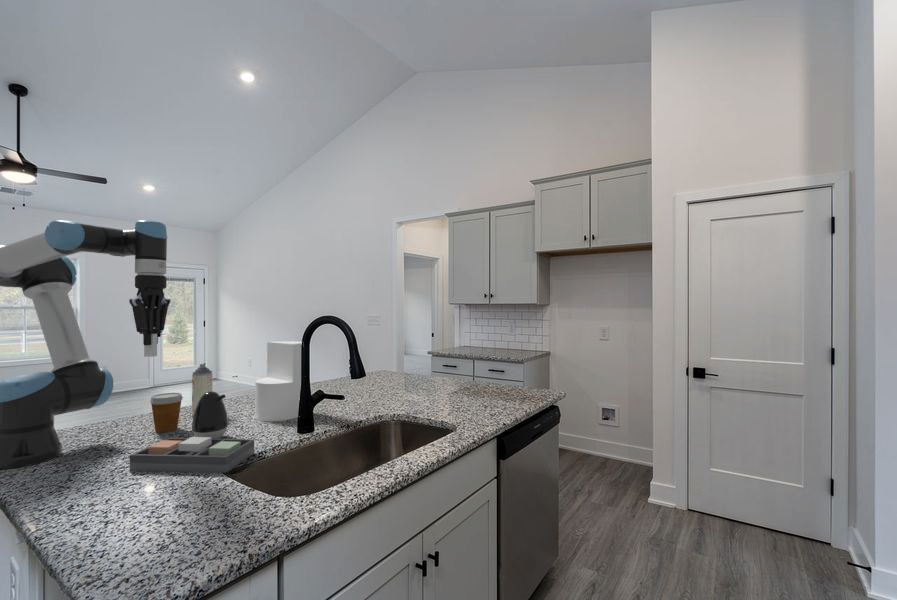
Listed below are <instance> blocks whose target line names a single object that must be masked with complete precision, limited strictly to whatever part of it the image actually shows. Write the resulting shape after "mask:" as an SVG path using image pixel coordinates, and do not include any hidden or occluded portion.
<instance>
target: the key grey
mask: <svg viewBox="0 0 897 600" xmlns="http://www.w3.org/2000/svg"><path fill="white" fill-rule="evenodd" d="M209 445H211V437H195V436H191V437H190V438H189V439H187V440H185V441H183V442H181V443H179V444H178V451H200V450H202V449H204V448H206V447H208V446H209Z"/></svg>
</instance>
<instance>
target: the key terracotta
mask: <svg viewBox="0 0 897 600" xmlns="http://www.w3.org/2000/svg"><path fill="white" fill-rule="evenodd" d="M158 442H159V443H158ZM158 442H157V443H154V444H152V445H149V446H150V447H149V446H148V454H154V455H163V454H165V453H167V452H169V451H171V450H173V449H175V448H177V447H178V444H179V443H181V442H183V441H175V440H165V439H163V440H161V441H158Z"/></svg>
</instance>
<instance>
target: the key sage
mask: <svg viewBox="0 0 897 600" xmlns="http://www.w3.org/2000/svg"><path fill="white" fill-rule="evenodd" d="M240 446H241V442H229V441H221V442H219V443H217V444H216V445H214V446H212V447H210V448H209V456H225V455H227V454H229V453H230V452H232V451H234V450H235V449H237V448H238V447H240Z"/></svg>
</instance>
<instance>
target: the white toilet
mask: <svg viewBox="0 0 897 600" xmlns="http://www.w3.org/2000/svg"><path fill="white" fill-rule="evenodd" d="M302 342H303V341H297V340H296V341H294V340H293V341H292V340H287V341H286V340H285V341H283V340H282V341H279V340H278V341H267V342H266V345H267V346H266V353H267V357H266V359H267V362H266V363H267V366H266V367H267V368H266V369H267V370H266V371H267V372H266V377H263V378H258V379H256V380H255V381H254V383H255V384H254V385H255V386H254V387H255V390H254V395H255V396H254V403H255V404H254V405H255V406H254V409H255V411H254V412H255V413H254V418H255V420H257V421H260V422H282V421H290V420H293V419H297V418H298V417H297V415H298V407H299V400H300V389H301V388H300V386H301V345H302Z"/></svg>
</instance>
